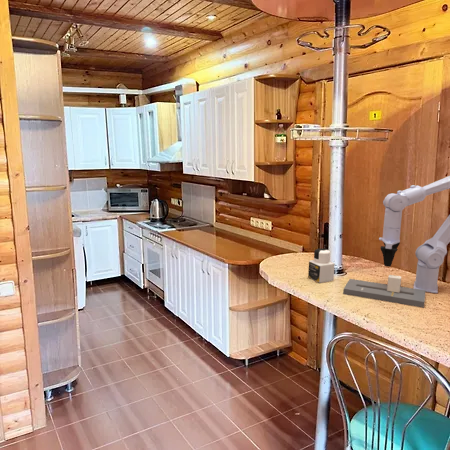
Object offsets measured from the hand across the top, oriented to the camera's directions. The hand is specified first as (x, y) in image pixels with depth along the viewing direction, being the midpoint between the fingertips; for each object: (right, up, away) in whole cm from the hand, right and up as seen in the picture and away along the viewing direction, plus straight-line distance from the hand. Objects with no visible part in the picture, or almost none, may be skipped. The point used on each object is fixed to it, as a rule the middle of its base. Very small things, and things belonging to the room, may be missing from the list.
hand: (388, 263), depth 151 cm
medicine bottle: (-22, -7, +11) cm, 26 cm away
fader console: (-4, -11, -5) cm, 12 cm away
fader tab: (-1, -9, -7) cm, 11 cm away
